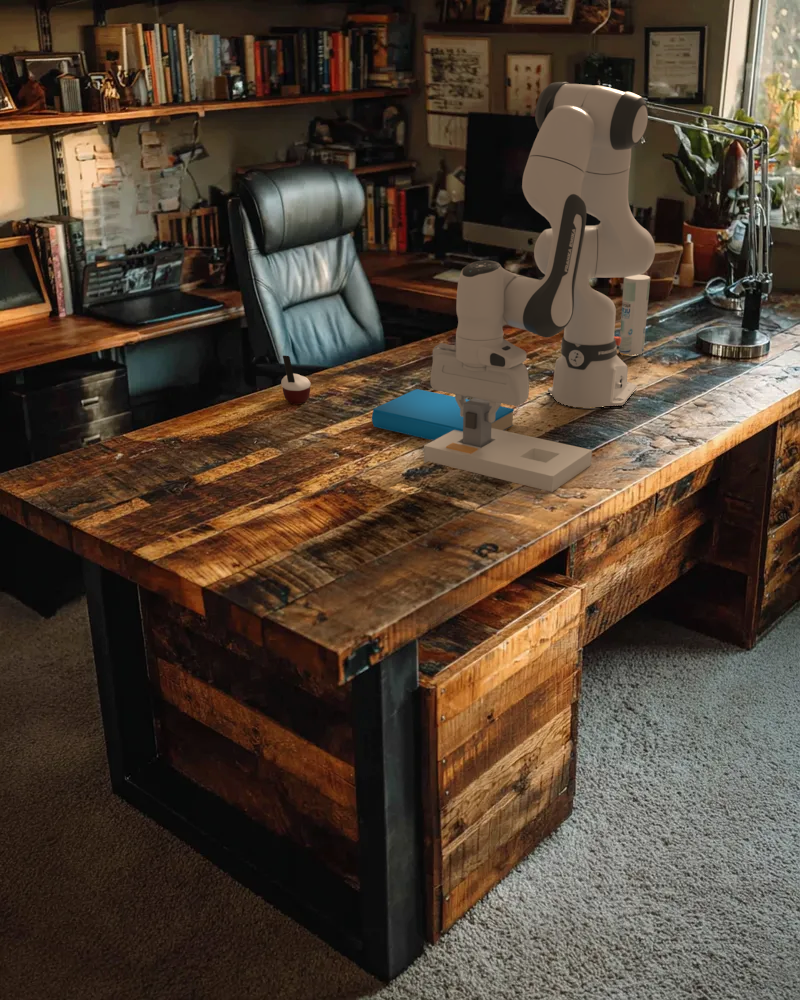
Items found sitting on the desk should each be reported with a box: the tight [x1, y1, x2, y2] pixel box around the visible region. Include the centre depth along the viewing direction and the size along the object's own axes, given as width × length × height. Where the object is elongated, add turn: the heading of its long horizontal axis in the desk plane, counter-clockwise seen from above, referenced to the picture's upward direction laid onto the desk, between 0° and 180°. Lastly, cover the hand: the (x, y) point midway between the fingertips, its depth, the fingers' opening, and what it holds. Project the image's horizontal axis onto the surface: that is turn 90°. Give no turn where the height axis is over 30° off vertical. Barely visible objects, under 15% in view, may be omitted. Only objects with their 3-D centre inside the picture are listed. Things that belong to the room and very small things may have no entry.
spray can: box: [618, 274, 651, 355], centre depth 279 cm, size 6×6×20 cm
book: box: [371, 388, 515, 441], centre depth 230 cm, size 17×4×25 cm
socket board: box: [423, 428, 593, 493], centre depth 210 cm, size 16×28×4 cm, turn 55°
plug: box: [463, 398, 492, 448], centre depth 211 cm, size 5×4×9 cm
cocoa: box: [280, 354, 312, 405], centre depth 246 cm, size 10×6×12 cm, turn 140°
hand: (477, 418), depth 211 cm, fingers closed on plug, 4 cm apart
